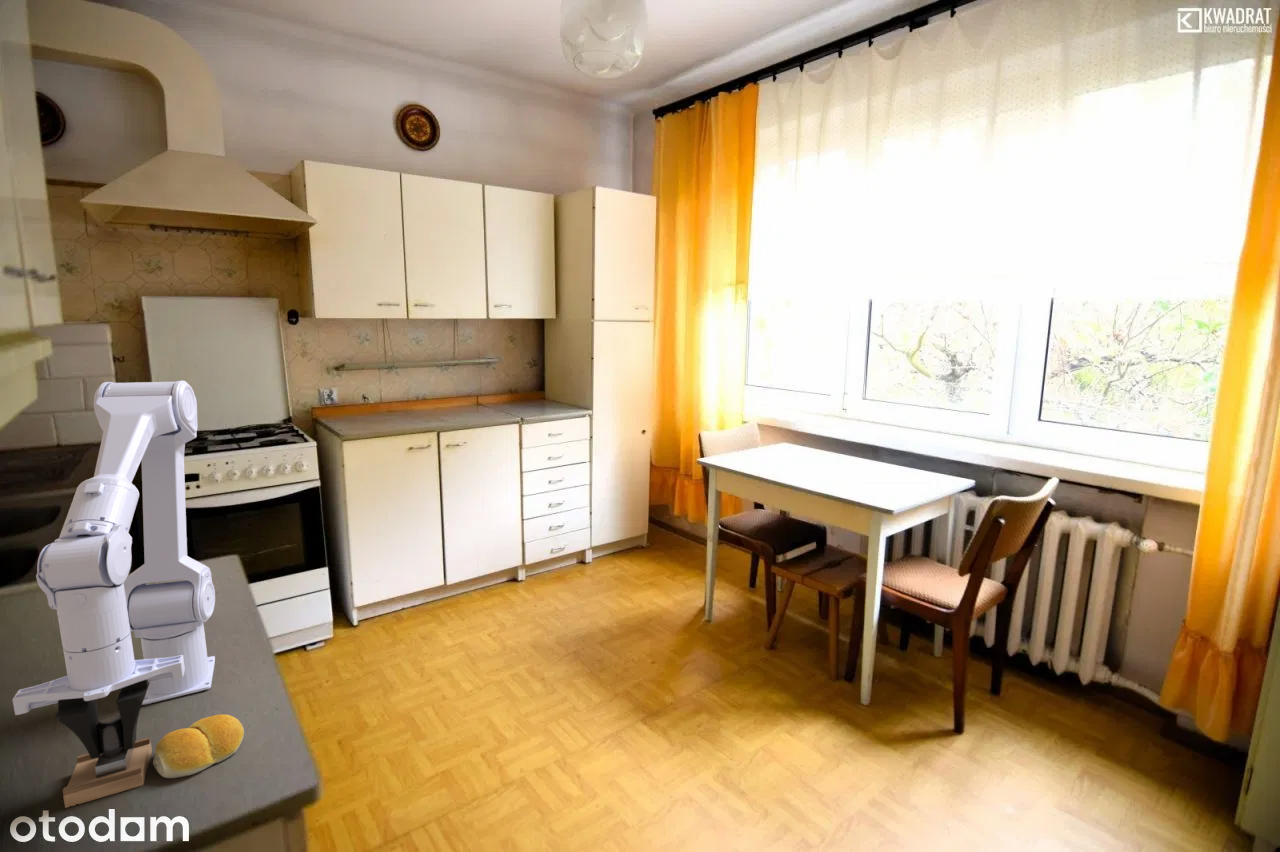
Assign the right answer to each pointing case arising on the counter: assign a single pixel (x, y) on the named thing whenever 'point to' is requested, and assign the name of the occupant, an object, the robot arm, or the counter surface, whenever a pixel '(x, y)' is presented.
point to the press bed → (91, 787)
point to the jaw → (111, 747)
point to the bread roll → (198, 746)
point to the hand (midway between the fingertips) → (114, 748)
